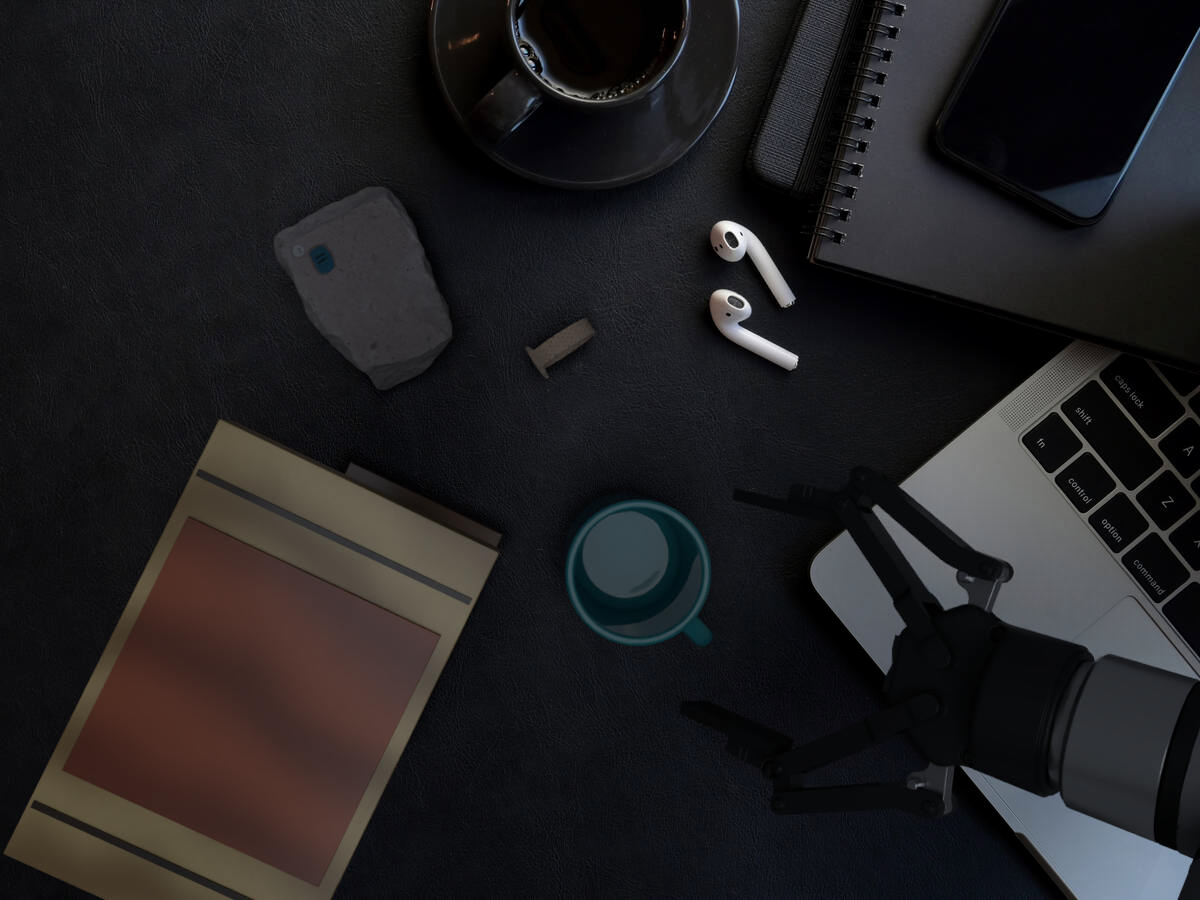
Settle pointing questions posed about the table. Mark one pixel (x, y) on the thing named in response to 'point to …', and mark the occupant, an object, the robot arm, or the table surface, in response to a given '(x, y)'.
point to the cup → (637, 571)
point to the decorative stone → (368, 285)
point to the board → (254, 685)
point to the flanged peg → (560, 345)
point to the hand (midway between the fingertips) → (718, 601)
